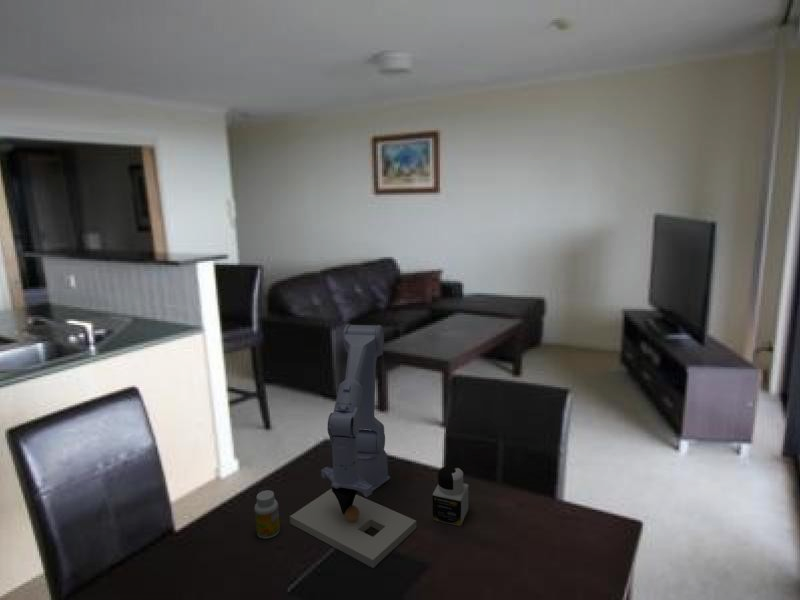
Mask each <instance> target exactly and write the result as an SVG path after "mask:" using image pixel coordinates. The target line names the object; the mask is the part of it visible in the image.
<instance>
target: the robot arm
mask: <svg viewBox="0 0 800 600" xmlns="http://www.w3.org/2000/svg"><path fill="white" fill-rule="evenodd" d="M342 342H343V347H344V349H345V352H346V353H347V360H346V361H347V362H346V369H345V376H344V377H345V378H344V380H343V381H342V382H340V383H339V385H338V390H337V394H336V399H335V404H334V408H333V412H330V413H329V416H328V419H327V434H328V436H329V442H330V443H329V444H331V446H332V447H331V451H332V467H333V468H332V467H328V466H326V467H324V468H323V469H321V470H320V472H321V478H322V479H326V478H327V479H328V480H330V482H331V488H332V492H333V493H334V494H335V496H336V498H337V500H338V502H339V504H340V507H341V511H342V513H343V514H344V515H345V512H346V510H347V508H348V507H349V506H351V505H352V504H353V501H354V498H355V495H356V494H357V493H358V492H359V493H362V494H363V496H364V498H368V497H369V496H370V495H372V494H373V492H374V491H375V490H377V489H378V488H379V487H381V486H382V485H383V484H384V483H386V482H387V481H389V480H390V479H391V476H390V475H389V470H388V469H389V467H388V454H387V452H386V450H385V446H386V435H385V426H384V424H383V423H382V422H381V421H380V420H379V419H377V418H376V417H375V405H376V404H375V403H376V402H375V400H376V370H377V369H376V366H377V359H378V357H380V356H382V355H383V354H384V350H385V349H384V344H385V333H384V328H383V327H382V325H380V324H378V325H363V324H346V325H345V326H344V328H343V332H342Z"/></svg>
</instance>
